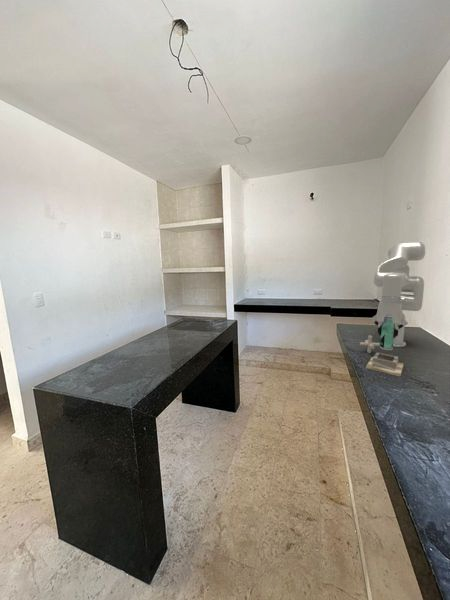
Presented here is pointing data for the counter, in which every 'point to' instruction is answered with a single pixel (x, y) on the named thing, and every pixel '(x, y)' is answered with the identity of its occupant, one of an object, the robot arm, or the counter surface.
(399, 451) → the counter surface
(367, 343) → the pipe connector
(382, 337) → the spray can
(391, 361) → the collar block
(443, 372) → the counter surface
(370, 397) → the counter surface
